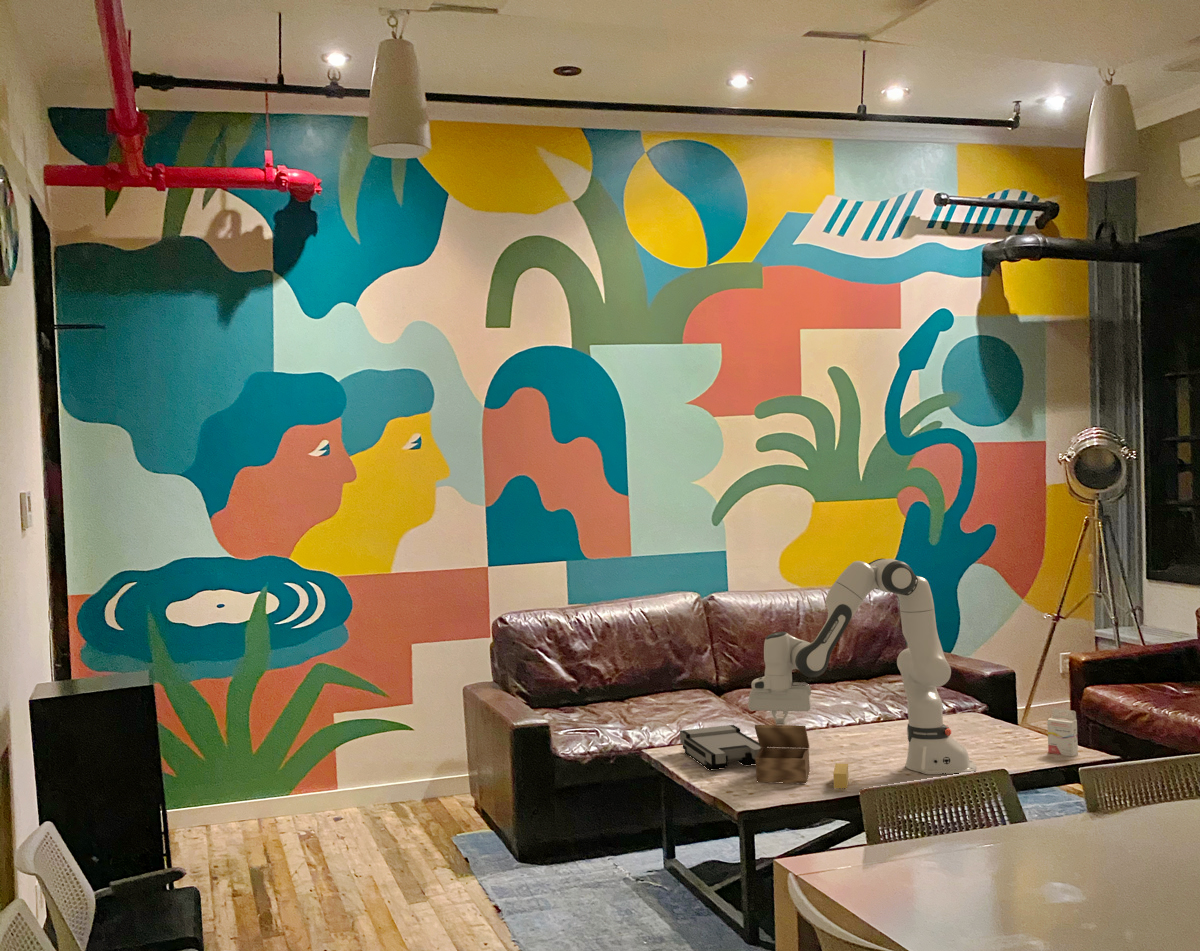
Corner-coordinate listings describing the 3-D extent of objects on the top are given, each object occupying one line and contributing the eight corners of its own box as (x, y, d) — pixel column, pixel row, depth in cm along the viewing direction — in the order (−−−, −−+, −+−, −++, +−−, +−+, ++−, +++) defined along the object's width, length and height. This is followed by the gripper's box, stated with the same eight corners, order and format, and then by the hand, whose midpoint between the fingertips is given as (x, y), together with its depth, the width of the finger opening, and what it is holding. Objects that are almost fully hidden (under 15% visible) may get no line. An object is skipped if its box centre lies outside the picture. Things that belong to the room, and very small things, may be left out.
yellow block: (848, 779, 361) (848, 763, 361) (847, 789, 350) (846, 773, 350) (836, 778, 362) (835, 763, 362) (834, 789, 351) (833, 773, 351)
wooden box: (809, 772, 370) (808, 748, 370) (806, 784, 357) (805, 759, 357) (761, 770, 375) (760, 747, 375) (756, 782, 361) (755, 758, 361)
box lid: (809, 748, 370) (809, 745, 371) (805, 728, 360) (805, 725, 360) (760, 747, 375) (760, 744, 375) (754, 727, 364) (754, 724, 365)
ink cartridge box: (1047, 753, 380) (1045, 710, 380) (1053, 750, 384) (1051, 707, 384) (1073, 756, 375) (1071, 713, 374) (1078, 753, 378) (1076, 710, 378)
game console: (712, 775, 373) (711, 751, 373) (680, 753, 404) (679, 730, 404) (769, 768, 378) (768, 744, 378) (734, 746, 409) (733, 724, 409)
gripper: (811, 680, 364) (813, 722, 364) (749, 679, 369) (751, 721, 369) (809, 684, 358) (811, 727, 358) (746, 683, 363) (748, 725, 363)
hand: (780, 724), depth 364 cm, fingers closed
